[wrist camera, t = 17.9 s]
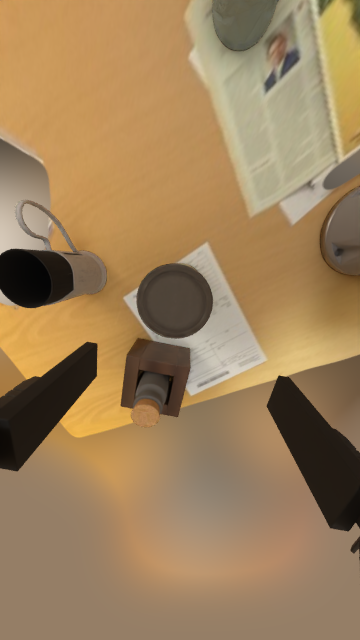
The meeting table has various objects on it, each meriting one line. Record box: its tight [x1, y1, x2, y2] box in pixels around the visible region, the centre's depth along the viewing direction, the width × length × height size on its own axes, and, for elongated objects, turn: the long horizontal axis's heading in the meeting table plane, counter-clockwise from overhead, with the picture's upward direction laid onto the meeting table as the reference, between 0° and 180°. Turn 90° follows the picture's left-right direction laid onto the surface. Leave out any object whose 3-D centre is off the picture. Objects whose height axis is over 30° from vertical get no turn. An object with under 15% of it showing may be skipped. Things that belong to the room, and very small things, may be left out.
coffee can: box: [137, 263, 213, 339], centre depth 31 cm, size 10×10×14 cm
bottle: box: [131, 371, 170, 427], centre depth 36 cm, size 6×6×15 cm
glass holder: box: [0, 200, 107, 308], centre depth 30 cm, size 9×14×15 cm, turn 178°
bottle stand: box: [121, 338, 190, 417], centre depth 40 cm, size 12×12×8 cm
